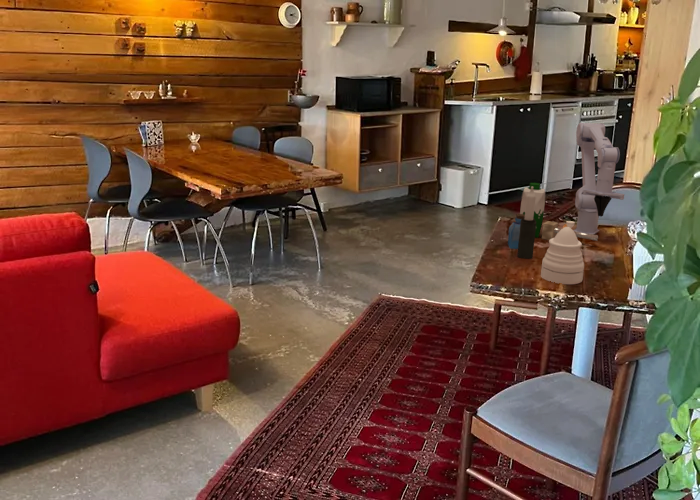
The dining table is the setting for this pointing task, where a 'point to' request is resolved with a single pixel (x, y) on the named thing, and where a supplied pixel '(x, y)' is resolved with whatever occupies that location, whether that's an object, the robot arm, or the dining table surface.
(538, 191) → the milk carton
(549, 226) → the clamp block
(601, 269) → the dining table surface
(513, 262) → the dining table surface
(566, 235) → the honey pot
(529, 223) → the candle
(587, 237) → the pipe
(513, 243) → the perfume bottle
